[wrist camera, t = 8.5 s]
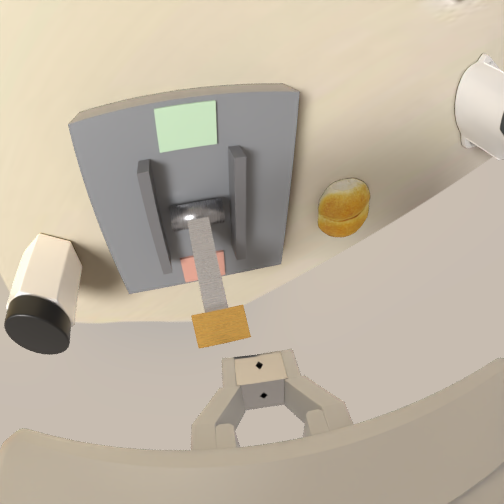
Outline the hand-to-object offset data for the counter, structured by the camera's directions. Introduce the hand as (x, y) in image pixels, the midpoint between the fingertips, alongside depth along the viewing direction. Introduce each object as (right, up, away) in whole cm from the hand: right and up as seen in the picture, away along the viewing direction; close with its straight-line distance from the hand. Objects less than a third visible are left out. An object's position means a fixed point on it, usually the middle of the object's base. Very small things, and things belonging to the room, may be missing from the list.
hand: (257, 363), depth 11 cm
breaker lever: (-6, +9, +15) cm, 19 cm away
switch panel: (-7, +12, +19) cm, 23 cm away
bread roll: (+12, +12, +27) cm, 32 cm away
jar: (-26, +4, +19) cm, 33 cm away
